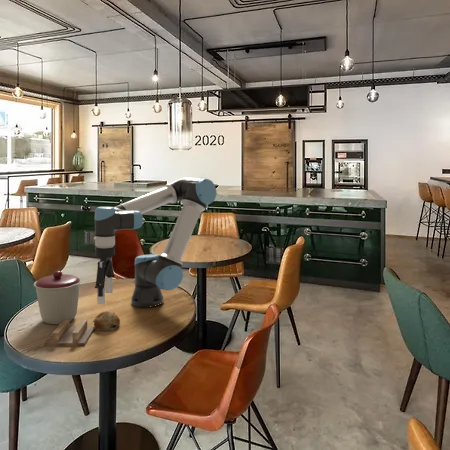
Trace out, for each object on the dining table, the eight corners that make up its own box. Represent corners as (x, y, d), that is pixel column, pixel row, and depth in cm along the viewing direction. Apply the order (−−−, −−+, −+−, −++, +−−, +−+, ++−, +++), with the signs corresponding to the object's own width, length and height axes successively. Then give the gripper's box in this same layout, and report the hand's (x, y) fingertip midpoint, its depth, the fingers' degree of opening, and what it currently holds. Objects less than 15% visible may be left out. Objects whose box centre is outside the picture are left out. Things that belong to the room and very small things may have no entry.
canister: (79, 309, 175) (78, 263, 172) (85, 324, 159) (83, 274, 156) (34, 315, 167) (32, 267, 164) (36, 331, 151) (33, 279, 148)
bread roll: (102, 341, 153) (107, 326, 150) (86, 325, 157) (91, 309, 154) (121, 332, 161) (126, 317, 158) (105, 317, 165) (110, 302, 162)
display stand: (94, 329, 155) (94, 318, 154) (84, 345, 141) (84, 333, 140) (58, 329, 154) (57, 318, 153) (44, 345, 140) (44, 334, 139)
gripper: (102, 240, 165) (103, 288, 168) (86, 252, 140) (86, 309, 143) (120, 240, 166) (120, 288, 169) (107, 253, 141) (107, 309, 144)
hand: (105, 298), depth 156 cm, fingers open, 13 cm apart
